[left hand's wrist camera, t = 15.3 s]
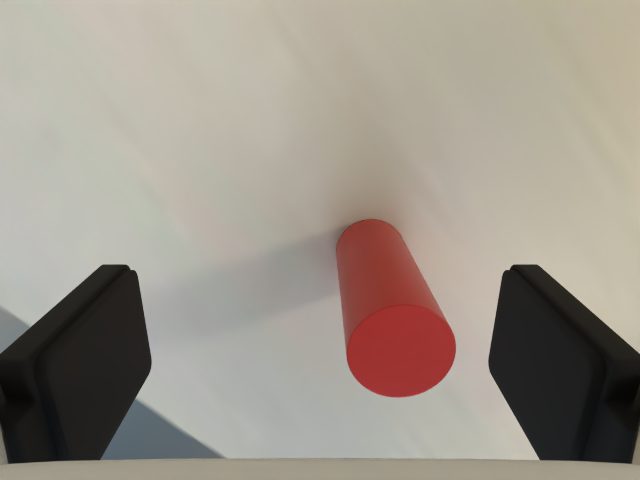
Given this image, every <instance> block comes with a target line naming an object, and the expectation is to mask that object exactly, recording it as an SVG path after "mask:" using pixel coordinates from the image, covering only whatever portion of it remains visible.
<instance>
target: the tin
mask: <svg viewBox="0 0 640 480" xmlns="http://www.w3.org/2000/svg"><path fill="white" fill-rule="evenodd" d="M336 256H337V266H338V276H339V286H340V296H341V306H342V315H343V325H344V335H345V345H346V355H347V362H348V366H349V368H350V371H351V372H352V374H353V376H354V377H355V378H356V380H357V381H358V382H359V383H360V384H361V385H362V386H364V387H365V388H366V389H368V390H370V391H372V392H374V393H376V394H379V395H383V396H387V397H398V398H399V397H409V396H414V395H417V394H420V393H423V392H425V391H427V390H429V389H431V388H432V387H434V386H435V385H437V384H438V383H439V382H440V381H441V380H442V379H443V378H444V377H445V376H446V374H447V373H448V372H449V370H450V368H451V366H452V364H453V361H454V358H455V353H456V343H455V338H454V334H453V332H452V330H451V328H450V326H449V324H448V322H447V320H446V319H445V317H444V315H443V313H442V311H441V309H440V307H439V306H438V304H437V302H436V300H435V298H434V296H433V294H432V293H431V291H430V289H429V287H428V285H427V283H426V281H425V280H424V278H423V276H422V274H421V272H420V270H419V268H418V266H417V265H416V263H415V261H414V259H413V257H412V255H411V253H410V252H409V250H408V248H407V246H406V244H405V242H404V240H403V239H402V237H401V235H400V234H399V232H398V231H397V230H396V229H395V228H394V227H393V226H392V225H390V224H388V223H386V222H384V221H381V220H374V219H370V220H363V221H360V222H357V223H355V224H353V225H352V226H350V227H349V228H348V229H346V230H345V232H344V233H343V234H342V235H341V237H340V239H339V241H338V244H337V249H336Z"/></svg>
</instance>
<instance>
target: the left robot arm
mask: <svg viewBox="0 0 640 480" xmlns="http://www.w3.org/2000/svg"><path fill="white" fill-rule="evenodd" d="M151 362H152V361H151V353H150V347H149V341H148V335H147V329H146V323H145V317H144V311H143V305H142V299H141V293H140V287H139V281H138V276H137V273H136V271H135V270H130V268H129V266H127V265H102V266H100V267H99V268H98V269H97V270H96V271H95V272H93V273H92V274H91V275H90V276H89V277H88V278H87V279H85V280H84V281H83V282H82V283H81V284H80V285H79V286H77V287H76V288H75V289H74V290H73V291H72V292H71V293H69V294H68V295H67V296H66V297H65V298H64V299H63V300H61V301H60V302H59V303H58V304H57V305H56V306H55V307H53V308H52V309H51V310H50V311H49V312H48V313H47V314H45V315H44V316H43V317H42V318H41V319H40V320H39V321H37V322H36V323H35V324H34V325H33V326H32V327H31V328H29V329H28V330H27V331H26V332H25V333H24V334H23V335H21V336H20V337H19V338H18V339H17V340H16V341H15V342H13V343H12V344H11V345H10V346H9V347H8V348H7V349H6V350H4V351H3V352H2V353H1V354H0V480H640V354H639V353H638V352H637V351H636V350H635V349H633V348H632V347H631V346H630V345H629V344H628V343H627V342H625V341H624V340H623V339H622V338H621V337H620V336H619V335H617V334H616V333H615V332H614V331H613V330H612V329H611V328H609V327H608V326H607V325H606V324H605V323H604V322H603V321H601V320H600V319H599V318H598V317H597V316H596V315H595V314H593V313H592V312H591V311H590V310H589V309H588V308H587V307H585V306H584V305H583V304H582V303H581V302H580V301H579V300H577V299H576V298H575V297H574V296H573V295H572V294H571V293H569V292H568V291H567V290H566V289H565V288H564V287H563V286H561V285H560V284H559V283H558V282H557V281H556V280H555V279H553V278H552V277H551V276H550V275H549V274H548V273H547V272H545V271H544V270H543V269H542V268H541V267H540V266H538V265H513V266H511V268H510V270H505V271H504V273H503V276H502V281H501V287H500V293H499V299H498V305H497V311H496V317H495V323H494V329H493V335H492V341H491V347H490V353H489V361H488V362H489V370H490V373H491V375H492V377H493V378H494V380H495V382H496V384H497V385H498V387H499V389H500V391H501V392H502V394H503V396H504V398H505V399H506V401H507V403H508V405H509V406H510V408H511V410H512V412H513V413H514V415H515V417H516V419H517V420H518V422H519V424H520V426H521V427H522V429H523V431H524V433H525V434H526V436H527V438H528V440H529V441H530V443H531V445H532V447H533V449H534V450H535V452H536V454H537V456H538V457H539V459H540V460H497V459H371V458H270V459H144V460H100V459H101V457H102V456H103V454H104V452H105V450H106V448H107V447H108V445H109V443H110V441H111V440H112V438H113V436H114V434H115V433H116V431H117V429H118V427H119V426H120V424H121V422H122V420H123V419H124V417H125V415H126V413H127V412H128V410H129V408H130V406H131V405H132V403H133V401H134V399H135V398H136V396H137V394H138V392H139V391H140V389H141V387H142V385H143V384H144V382H145V380H146V378H147V377H148V375H149V373H150V370H151Z"/></svg>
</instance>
